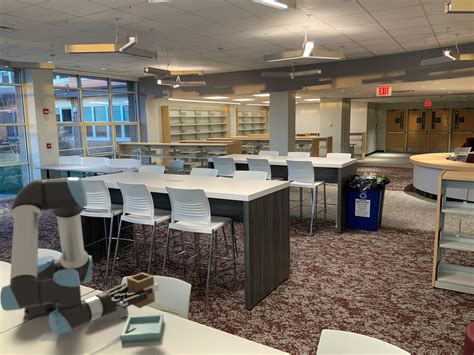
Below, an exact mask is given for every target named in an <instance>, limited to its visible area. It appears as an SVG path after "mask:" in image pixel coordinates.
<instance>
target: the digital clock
mask: <svg viewBox="0 0 474 355" xmlns="http://www.w3.org/2000/svg"><path fill="white" fill-rule="evenodd" d="M128 316H129V309H128V307H126V308H123V306H121V305H120V306H117V307H114V308H113V310H112V312H111V313H109V314H107V315H104V316H101V317H99V318H97V319H95V320H92V322H89V325H90V326H89V327H96V326H98V325H101V324H104V323H107V322H109V321H112V320H114V319H118V318H120V319H123V318H125V317H128Z"/></svg>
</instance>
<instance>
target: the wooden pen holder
mask: <svg viewBox="0 0 474 355" xmlns="http://www.w3.org/2000/svg"><path fill="white" fill-rule="evenodd" d="M154 284H155V279H154V275H151V274H149V273H145V272H140V273H137V274H135V275H132V276H129V277H127V278H126V285H128V292H127V294H129V293H133V292H138V291H142V290H143V289H144V288H146V287H149V286H151V285H154ZM155 302H156V296H155V292H153V293H151V294H149V295H147V299H146V300H143V301H141V302H138V303H135V304H133V305H132V306H134V307H137V308H138V309H141V308H143V307H145V306H148V305H150V304H152V303H155Z"/></svg>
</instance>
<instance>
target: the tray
mask: <svg viewBox="0 0 474 355" xmlns="http://www.w3.org/2000/svg"><path fill="white" fill-rule="evenodd" d="M164 320H165V318H164V314H163V313H161V314H148V315H147V314H146V315H145V314H144V315H128V316H127V319H126V320H125V325H124V327H123V330H122V332H121V334H120V339H121V341H120V342H121V344H125V343H126V344H127V343H140V342H141V343H142V342H154V341H161V336H162V331H163V327H164V322H165V321H164ZM130 325H132V326H134V328H132V329H130V330H129V327H130Z"/></svg>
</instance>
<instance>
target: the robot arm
mask: <svg viewBox="0 0 474 355" xmlns="http://www.w3.org/2000/svg"><path fill="white" fill-rule="evenodd" d="M87 206H88V199H87V194H86V188H85V184H84V181H83V180H82V178H80V177H70V176H69V177H65V178H52V179H51V178H47V179H35V180H33V181H30V182H29V183H27V184H25V186H23V187H22V188H21V189H20V190H19V192H17V194H16V196H15V197H14V199H13V201H12V205H11V209H10V210H11V211H10V214H11V217H12V218H13V229H12V230H13V231H12V244H11V246H12V247H11V260H10V261H11V264H10V275H9V276H10V277H9V279H10V280H9V284H8V285H5V286H3V287H2V288H1V289H0V305H1V308H2V310H4V311H5V312H7V311H19V310H22V309H24V311H23V312H24V317H25V319H26V320H27V319H28V320H33V319H36V318H40V317H41V318H42V317H45V316H46V317H47V316H49V317H48V324H49V327H50V328H49V329H51V330H52V331H53V332H54V333H55V334H57V335H59V334H62V333H65V332H68V331H71V330H72V329H74V328H77V327H79V326H80V327H81V326H83V325H85V324H87V323H90V322H92V320H95V319H97V318H99V317H101V316H104V315H107V314H109V313H111V312H112V310H113V308H114V307H117V306H120V305H121V306H123V308H126V307H127V308H128V307H130V306H134V305H133V304H135V303H138V302H141V301H143V300H146V299H147V295H149V294H151V293H153V292H154V293H155V292H158V291H160V286H159V283H158V282H156V283H154V285H151V286H149V287H146V288H144V289H143V290H142V291H138V292H133V293H129V294H128V285H127V282H124V283H122V284H119V285H117V286H115V287H113V288H111V289H108V290H105V291H103V292H101V293H99V294H96V295H93V296H90V297H88V298H85V299H83V300H82V294H81V285H82V284H83V283H88V282H90V281H91V280H92V276H93V257H92V255H89V254H88V252H87V251H86V250H85V247H84V246H85V245H84V239H83V238H84V236H83V228H82V219H81V218H82V217H81V213H83V211H84V208H85V207H87ZM43 211H51V213H52V214H53V216H54V217H56V220H57V226H58V234H59V239H60V240H59V241H60V247H61V253H62V254H61V255H60V256H59V259H56V258H55V257H54V256H42V257H39V256H38V254H39V253H38V252H39V251H38V250H39V219H40V217H42V214H43ZM80 327H79V328H80Z"/></svg>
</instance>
